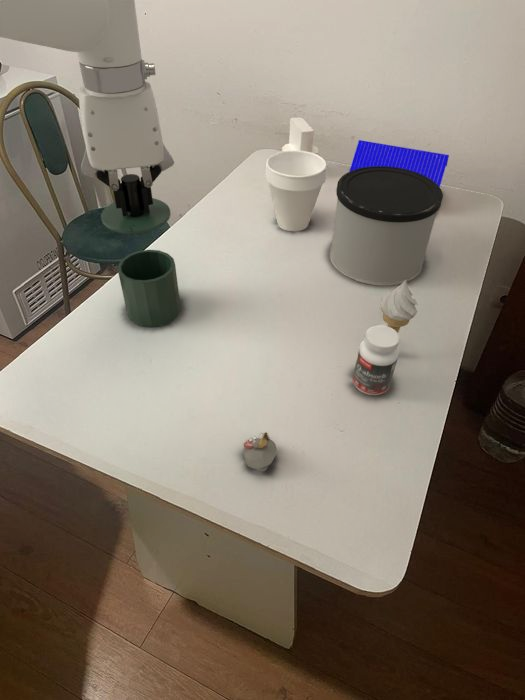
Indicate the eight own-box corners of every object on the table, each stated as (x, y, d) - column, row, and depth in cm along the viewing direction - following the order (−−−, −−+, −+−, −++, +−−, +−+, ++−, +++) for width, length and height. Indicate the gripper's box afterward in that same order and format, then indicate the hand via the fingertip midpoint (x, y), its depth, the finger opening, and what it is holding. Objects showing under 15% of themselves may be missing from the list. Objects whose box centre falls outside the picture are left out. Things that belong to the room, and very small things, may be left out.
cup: (276, 204, 118) (278, 146, 109) (327, 215, 115) (334, 155, 106) (256, 231, 110) (256, 170, 101) (311, 243, 107) (316, 181, 97)
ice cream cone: (365, 361, 82) (382, 286, 72) (373, 339, 86) (390, 265, 76) (400, 371, 81) (422, 295, 70) (407, 348, 85) (428, 273, 74)
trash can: (130, 331, 87) (119, 286, 80) (125, 298, 93) (115, 254, 86) (184, 322, 89) (178, 277, 82) (176, 290, 95) (170, 246, 88)
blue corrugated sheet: (431, 216, 115) (445, 166, 107) (345, 199, 121) (352, 150, 112) (439, 192, 123) (452, 144, 115) (358, 177, 129) (365, 130, 120)
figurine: (268, 480, 67) (269, 453, 62) (236, 469, 68) (235, 442, 63) (281, 448, 70) (283, 421, 66) (251, 439, 71) (251, 411, 67)
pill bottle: (348, 390, 78) (357, 342, 71) (357, 365, 82) (366, 318, 75) (385, 401, 76) (398, 353, 69) (393, 375, 80) (406, 328, 73)
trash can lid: (104, 241, 73) (95, 198, 69) (100, 207, 80) (91, 166, 76) (175, 232, 75) (171, 190, 71) (165, 200, 82) (161, 159, 78)
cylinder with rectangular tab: (321, 178, 128) (326, 129, 120) (287, 182, 126) (289, 133, 118) (309, 163, 134) (313, 115, 126) (276, 167, 132) (278, 119, 124)
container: (321, 234, 109) (328, 166, 99) (407, 231, 111) (424, 163, 100) (338, 288, 96) (349, 216, 85) (436, 284, 97) (458, 212, 87)
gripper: (173, 63, 68) (185, 193, 81) (45, 71, 65) (78, 204, 78) (182, 81, 63) (193, 216, 76) (44, 89, 60) (80, 229, 72)
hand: (135, 209), depth 77 cm, fingers closed on trash can lid, 2 cm apart
